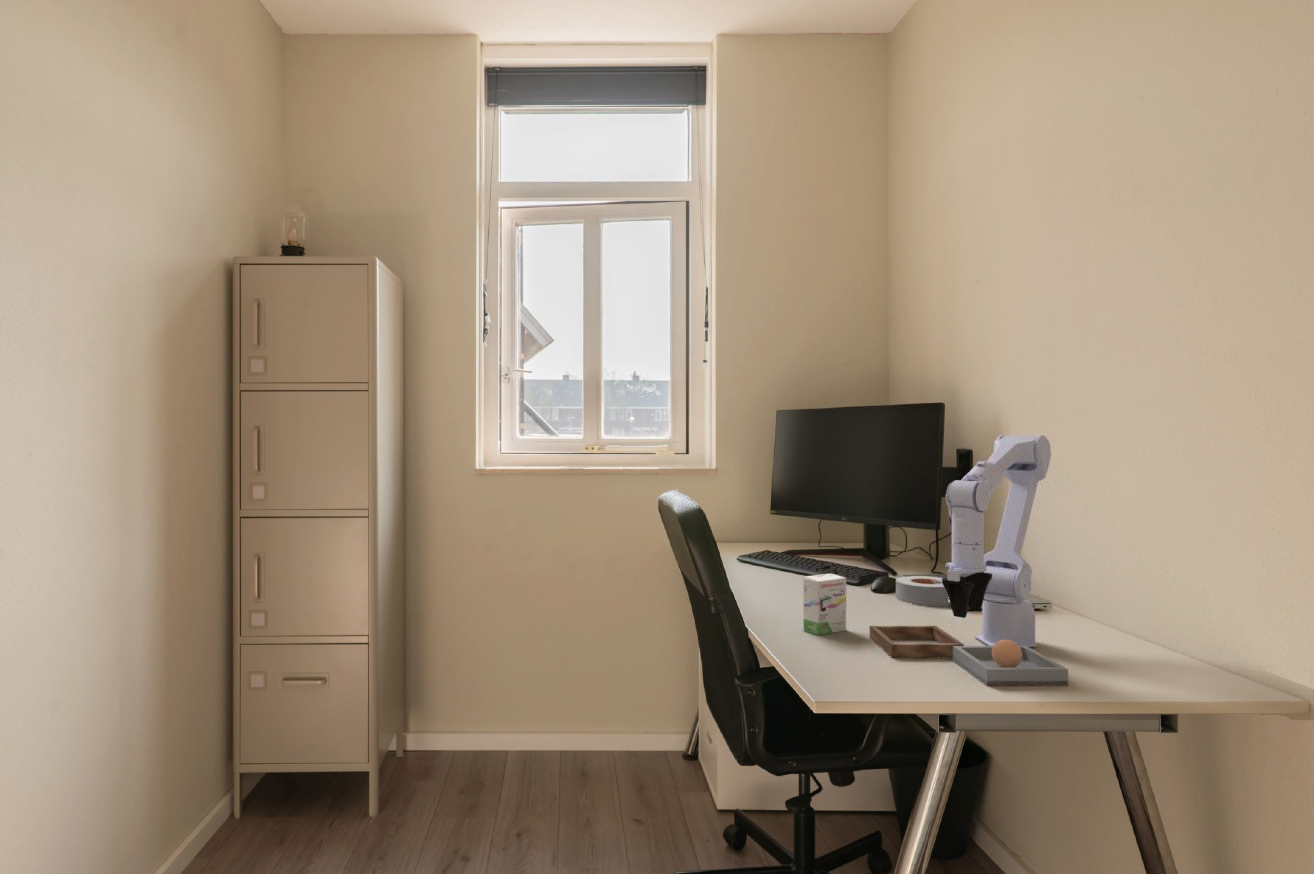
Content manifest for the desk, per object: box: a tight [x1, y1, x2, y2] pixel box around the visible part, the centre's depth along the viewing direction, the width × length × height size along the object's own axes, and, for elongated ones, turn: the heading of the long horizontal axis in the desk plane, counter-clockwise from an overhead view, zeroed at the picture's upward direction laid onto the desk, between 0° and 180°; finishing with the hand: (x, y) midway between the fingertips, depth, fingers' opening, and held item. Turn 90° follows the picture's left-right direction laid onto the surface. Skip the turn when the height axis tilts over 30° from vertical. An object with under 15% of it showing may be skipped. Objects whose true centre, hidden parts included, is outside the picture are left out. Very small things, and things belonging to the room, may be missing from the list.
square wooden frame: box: [869, 625, 965, 658], centre depth 151 cm, size 14×14×2 cm
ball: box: [992, 640, 1022, 668], centre depth 135 cm, size 5×5×5 cm
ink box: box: [802, 573, 847, 636], centre depth 163 cm, size 8×5×12 cm, turn 121°
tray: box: [952, 645, 1069, 687], centre depth 135 cm, size 14×14×3 cm
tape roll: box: [895, 575, 949, 607], centre depth 194 cm, size 15×15×5 cm
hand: (967, 613), depth 144 cm, fingers open, 7 cm apart
